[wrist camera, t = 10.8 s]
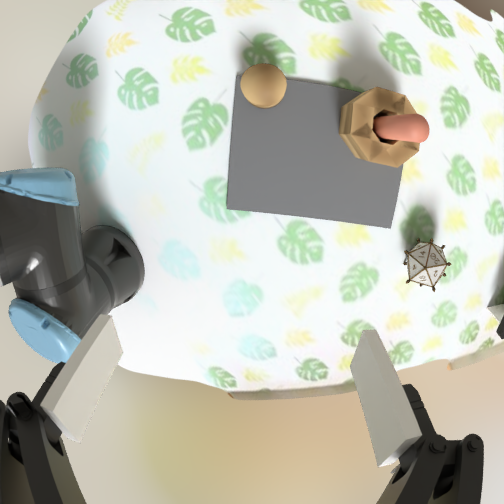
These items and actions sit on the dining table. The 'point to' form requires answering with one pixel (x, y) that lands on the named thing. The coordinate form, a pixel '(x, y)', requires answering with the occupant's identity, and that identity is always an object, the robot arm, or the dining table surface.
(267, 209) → the mat
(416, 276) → the game die
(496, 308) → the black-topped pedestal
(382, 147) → the bead
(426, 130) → the pink rounded cylinder
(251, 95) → the loose tan rounded knob
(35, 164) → the dining table surface
